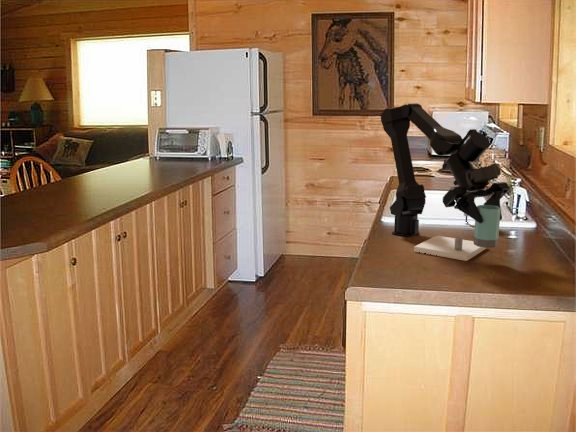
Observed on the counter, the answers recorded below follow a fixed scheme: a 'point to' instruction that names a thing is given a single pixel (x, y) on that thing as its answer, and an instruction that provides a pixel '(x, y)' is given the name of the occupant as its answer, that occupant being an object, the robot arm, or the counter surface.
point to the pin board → (449, 248)
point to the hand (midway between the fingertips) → (491, 221)
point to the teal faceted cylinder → (487, 227)
